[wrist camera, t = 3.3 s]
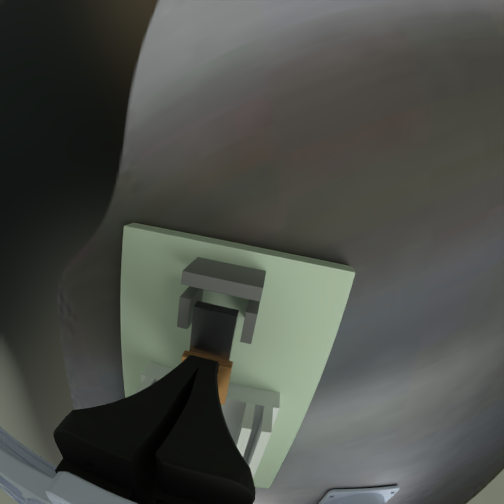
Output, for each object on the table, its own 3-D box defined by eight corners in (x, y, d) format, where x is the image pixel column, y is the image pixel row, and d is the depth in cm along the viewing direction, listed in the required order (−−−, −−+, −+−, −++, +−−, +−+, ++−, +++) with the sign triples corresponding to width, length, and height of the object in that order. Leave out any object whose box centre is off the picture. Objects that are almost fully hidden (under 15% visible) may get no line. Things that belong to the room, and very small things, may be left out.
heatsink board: (269, 478, 20) (266, 519, 15) (138, 446, 20) (119, 481, 16) (350, 265, 15) (375, 298, 10) (134, 222, 15) (86, 237, 11)
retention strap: (210, 484, 17) (207, 496, 16) (182, 477, 17) (178, 489, 16) (243, 309, 12) (239, 323, 11) (194, 298, 12) (185, 311, 11)
